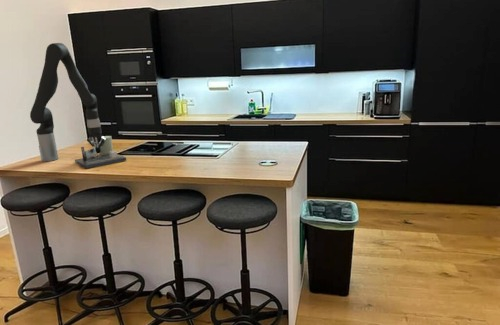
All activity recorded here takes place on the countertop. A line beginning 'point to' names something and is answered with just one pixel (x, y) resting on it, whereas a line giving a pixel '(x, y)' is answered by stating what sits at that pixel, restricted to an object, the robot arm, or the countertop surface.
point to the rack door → (90, 153)
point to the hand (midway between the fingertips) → (98, 152)
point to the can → (106, 145)
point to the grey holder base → (98, 160)
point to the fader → (113, 154)
